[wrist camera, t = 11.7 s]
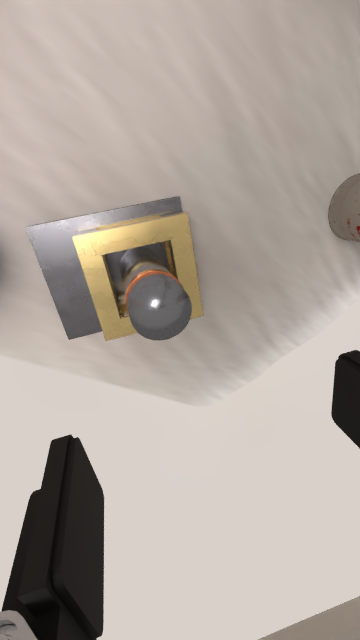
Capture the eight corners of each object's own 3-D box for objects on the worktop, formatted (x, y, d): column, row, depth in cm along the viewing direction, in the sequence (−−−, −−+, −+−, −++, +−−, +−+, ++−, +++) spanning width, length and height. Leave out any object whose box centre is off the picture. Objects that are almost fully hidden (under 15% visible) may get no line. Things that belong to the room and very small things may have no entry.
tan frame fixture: (177, 196, 32) (193, 196, 26) (194, 304, 38) (211, 324, 32) (27, 226, 30) (9, 234, 24) (69, 336, 36) (62, 363, 30)
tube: (155, 242, 33) (187, 272, 20) (163, 282, 35) (197, 332, 22) (113, 251, 32) (120, 288, 19) (124, 291, 34) (136, 348, 21)
